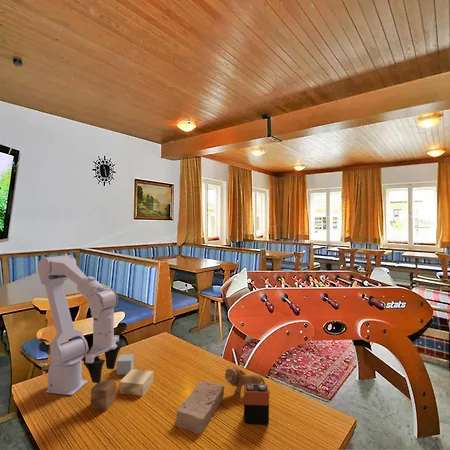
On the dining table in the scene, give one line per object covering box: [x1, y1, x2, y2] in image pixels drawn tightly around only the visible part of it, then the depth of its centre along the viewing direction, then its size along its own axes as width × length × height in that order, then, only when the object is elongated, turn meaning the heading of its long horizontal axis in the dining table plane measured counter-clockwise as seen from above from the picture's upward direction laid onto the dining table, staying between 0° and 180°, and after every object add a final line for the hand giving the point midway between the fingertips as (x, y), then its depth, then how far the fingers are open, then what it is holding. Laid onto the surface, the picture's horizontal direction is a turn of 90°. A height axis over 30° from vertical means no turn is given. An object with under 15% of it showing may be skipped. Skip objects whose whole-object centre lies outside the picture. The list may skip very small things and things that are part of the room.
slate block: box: [116, 353, 135, 376], centre depth 106 cm, size 5×5×5 cm
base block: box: [119, 368, 154, 397], centre depth 96 cm, size 8×8×4 cm
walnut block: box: [90, 379, 117, 412], centre depth 87 cm, size 5×5×6 cm
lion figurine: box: [224, 366, 271, 398], centre depth 92 cm, size 15×5×9 cm, turn 93°
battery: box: [243, 382, 270, 426], centre depth 81 cm, size 4×7×10 cm, turn 87°
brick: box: [175, 380, 225, 435], centre depth 84 cm, size 17×8×5 cm, turn 159°
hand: (103, 375), depth 87 cm, fingers open, 7 cm apart
